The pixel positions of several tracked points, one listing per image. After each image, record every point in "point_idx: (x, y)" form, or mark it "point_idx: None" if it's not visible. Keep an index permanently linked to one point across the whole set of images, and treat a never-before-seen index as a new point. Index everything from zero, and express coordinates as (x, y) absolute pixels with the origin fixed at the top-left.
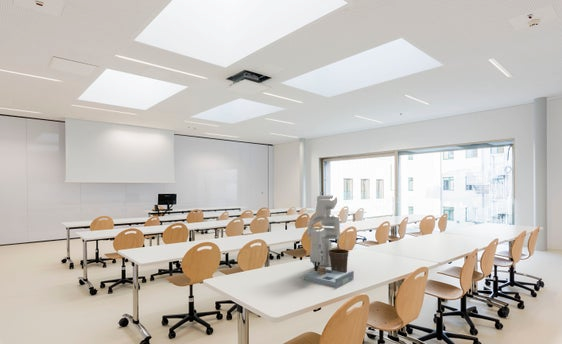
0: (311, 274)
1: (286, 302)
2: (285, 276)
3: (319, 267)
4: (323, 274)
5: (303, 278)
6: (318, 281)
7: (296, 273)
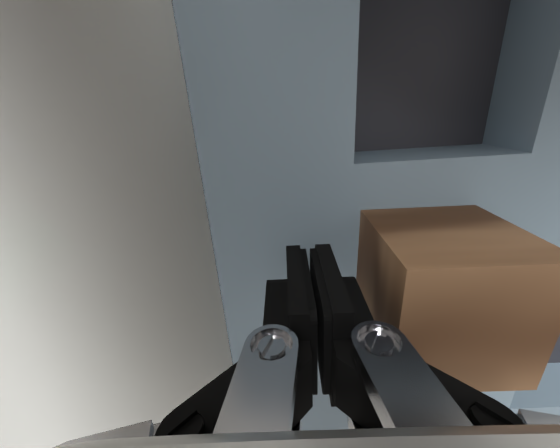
0: None
1: None
2: (50, 425)
3: (430, 363)
4: None
5: None
6: None
7: (8, 295)
